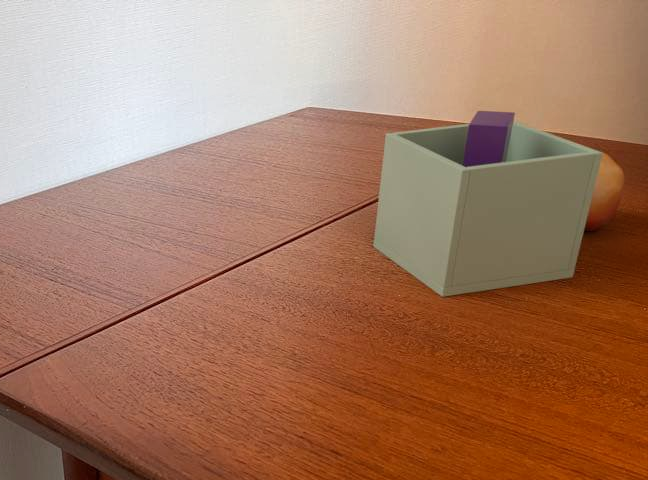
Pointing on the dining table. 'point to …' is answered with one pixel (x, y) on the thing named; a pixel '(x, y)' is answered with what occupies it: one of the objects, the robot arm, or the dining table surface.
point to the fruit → (605, 194)
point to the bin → (483, 209)
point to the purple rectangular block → (488, 138)
